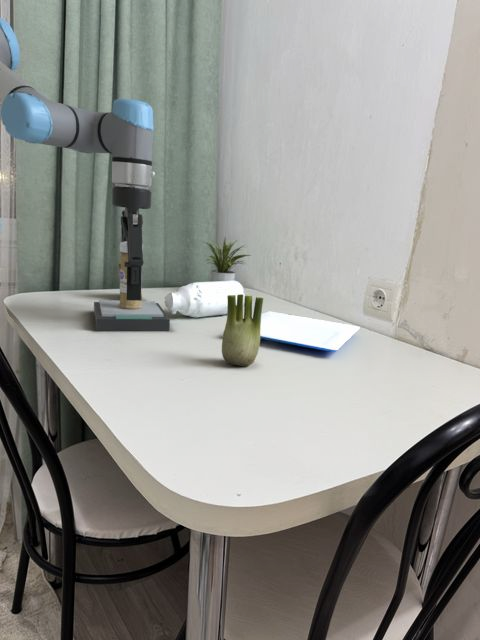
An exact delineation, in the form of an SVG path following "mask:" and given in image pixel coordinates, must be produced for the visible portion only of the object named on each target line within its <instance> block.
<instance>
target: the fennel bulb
mask: <svg viewBox="0 0 480 640" xmlns="http://www.w3.org/2000/svg"><path fill="white" fill-rule="evenodd" d="M243 296H244V295H243V294H238V295H237V305H236V295H228V296H227V300H228V306H227V307H228V309H227V310H228V311H227V314H226V323H225V326H224V327H225V328H224V330H223V334H222V340H221V341H222V342H221V354H222V358H223V359H224V361H225V362H226V363H228V364H230V365H234V366H240V367H245V366H246V367H247V366H250V365H252V364H254V362H255V360H256V358H257V356H258V352H259V350H260V344H261V339H260V335H261V334H260V330H261V314H263V313H262V312H263V305H264V297H261V296H256V297H255V300H254V305H253V295H245V299H244V306H243ZM252 318H253V319H252Z"/></svg>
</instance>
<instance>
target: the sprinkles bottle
mask: <svg viewBox="0 0 480 640" xmlns="http://www.w3.org/2000/svg"><path fill="white" fill-rule="evenodd" d="M142 245H143V246H144V244H143V243H142ZM119 253H120V263H121V270H120V271H119V301H120V303H119V306H120V307H121V308H124V309H137V308H140V307H141V301H135V300H126V299H127V267H124V263H125V262H128V253H127V242H121V241H120V242H119ZM142 278H143V277H142ZM142 278H141V283H142V281H143V279H142Z"/></svg>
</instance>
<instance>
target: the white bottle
mask: <svg viewBox="0 0 480 640" xmlns="http://www.w3.org/2000/svg"><path fill="white" fill-rule="evenodd" d="M244 290H245V288H244V286H243V285H242V284H241V283H240V282H239V281H238V280H236V279H234V281H233V280H232V281H216V282H212V281H197V282H191V283H188V284H186V285H182V286H180V287H179V288H178V289H176V291H175V292H173V291H171V292H168V293H167V294H166V295H165V297H164V306H165V308H167V309H168V311H170V312H171V315H176V314H177V312H178V313H179V314H181V315H183V316H185V317H186V316H187V317H190V318H194V319H195V318H203V317H211V316H212V317H213V316H222V315H227V311H228V310H227V309H228V307H227V306H228V300H227V296H228V295H236V305H237V295H238V294H243V295H244V296H243V307H244V299H245V296H246V295H245V292H244Z"/></svg>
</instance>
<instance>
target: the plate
mask: <svg viewBox="0 0 480 640" xmlns="http://www.w3.org/2000/svg"><path fill="white" fill-rule="evenodd" d="M252 319H253V317H252ZM360 329H361V327H360V326H358V325H353V324H347V323H346V324H345V323H341V322H335V321H329V320H323V319H317V318H311V317H306V316H300V315H299V316H298V315H293V314H287V313H281V312H277V311H270V310H269V311H266V312H264V313H261V330H260V334H261V335H260V340H266V341H271V342H276V343H281V344H286V345H292V346H297V347H302V348H308V349H313V350H316V351H317V350H318V351H319V350H320V351H326V352H336V353H337V351H338V350H340V348H342V346H344V344H345V343H347V342H348V340H350V339H351V338H352V337H353V336H354V335H355V334H356V333H357V332H358V331H359V330H360Z"/></svg>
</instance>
